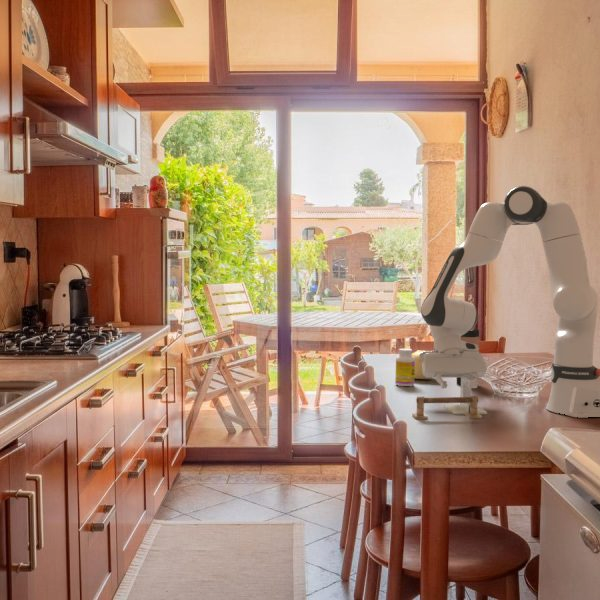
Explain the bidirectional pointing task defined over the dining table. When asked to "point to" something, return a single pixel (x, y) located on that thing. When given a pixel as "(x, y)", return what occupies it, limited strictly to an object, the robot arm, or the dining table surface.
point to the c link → (467, 390)
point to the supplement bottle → (405, 368)
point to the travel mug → (470, 338)
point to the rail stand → (472, 400)
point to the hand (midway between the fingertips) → (459, 387)
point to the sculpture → (418, 366)
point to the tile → (457, 410)
